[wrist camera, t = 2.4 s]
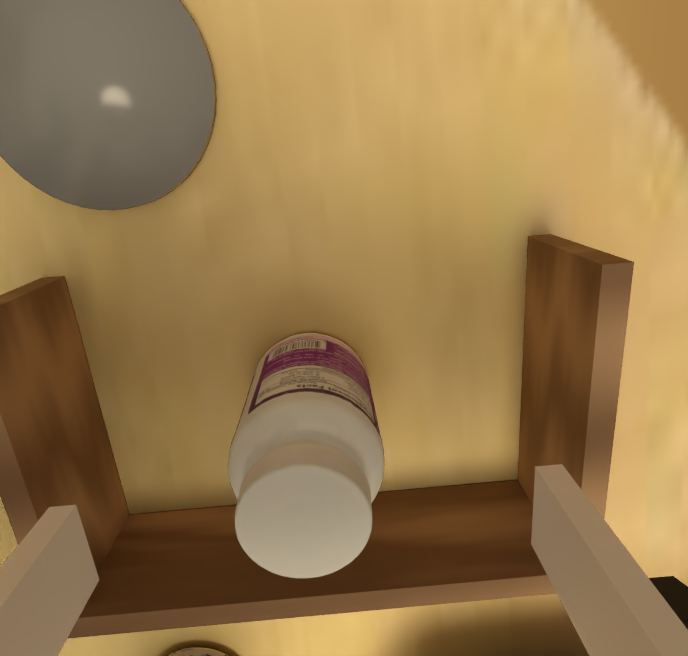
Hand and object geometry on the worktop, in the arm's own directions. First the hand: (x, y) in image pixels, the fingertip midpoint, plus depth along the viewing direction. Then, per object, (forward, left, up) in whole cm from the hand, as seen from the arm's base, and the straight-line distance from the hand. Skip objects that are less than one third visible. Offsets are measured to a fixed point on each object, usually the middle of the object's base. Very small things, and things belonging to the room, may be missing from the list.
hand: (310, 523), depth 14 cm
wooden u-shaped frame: (0, -1, -9) cm, 9 cm away
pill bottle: (0, 0, -10) cm, 10 cm away
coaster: (-14, +5, -9) cm, 18 cm away
